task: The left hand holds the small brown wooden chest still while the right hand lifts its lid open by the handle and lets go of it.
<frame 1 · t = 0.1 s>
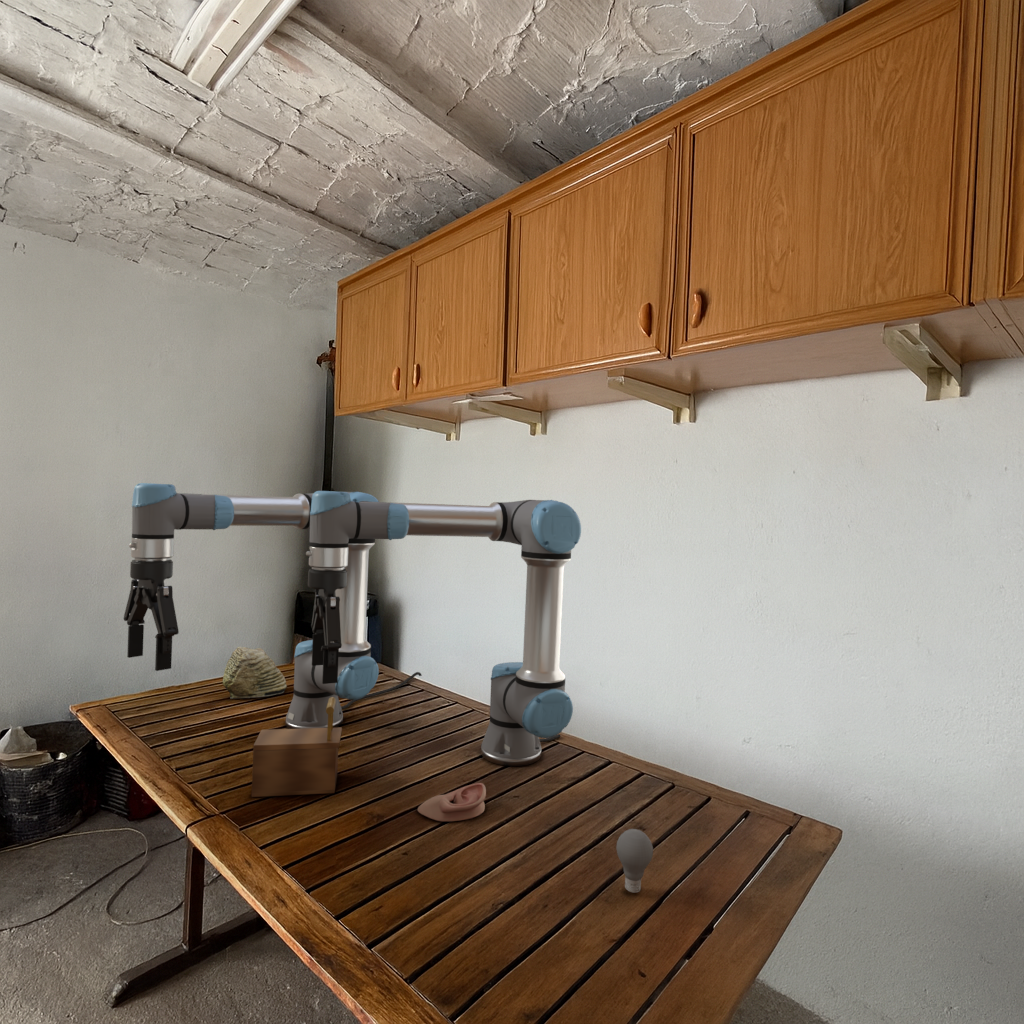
left hand: (148, 662, 129), 28 cm above the table, tool pointing down, fingers open, 13 cm apart
right hand: (323, 673, 127), 28 cm above the table, tool pointing down, fingers open, 13 cm apart
lid: (300, 721, 138), point 14 cm above the table, hinge at 0.0°
fossil: (254, 694, 198), on the table
anatomical model: (452, 809, 131), on the table
chest: (296, 785, 138), on the table
light bulb: (632, 891, 106), on the table
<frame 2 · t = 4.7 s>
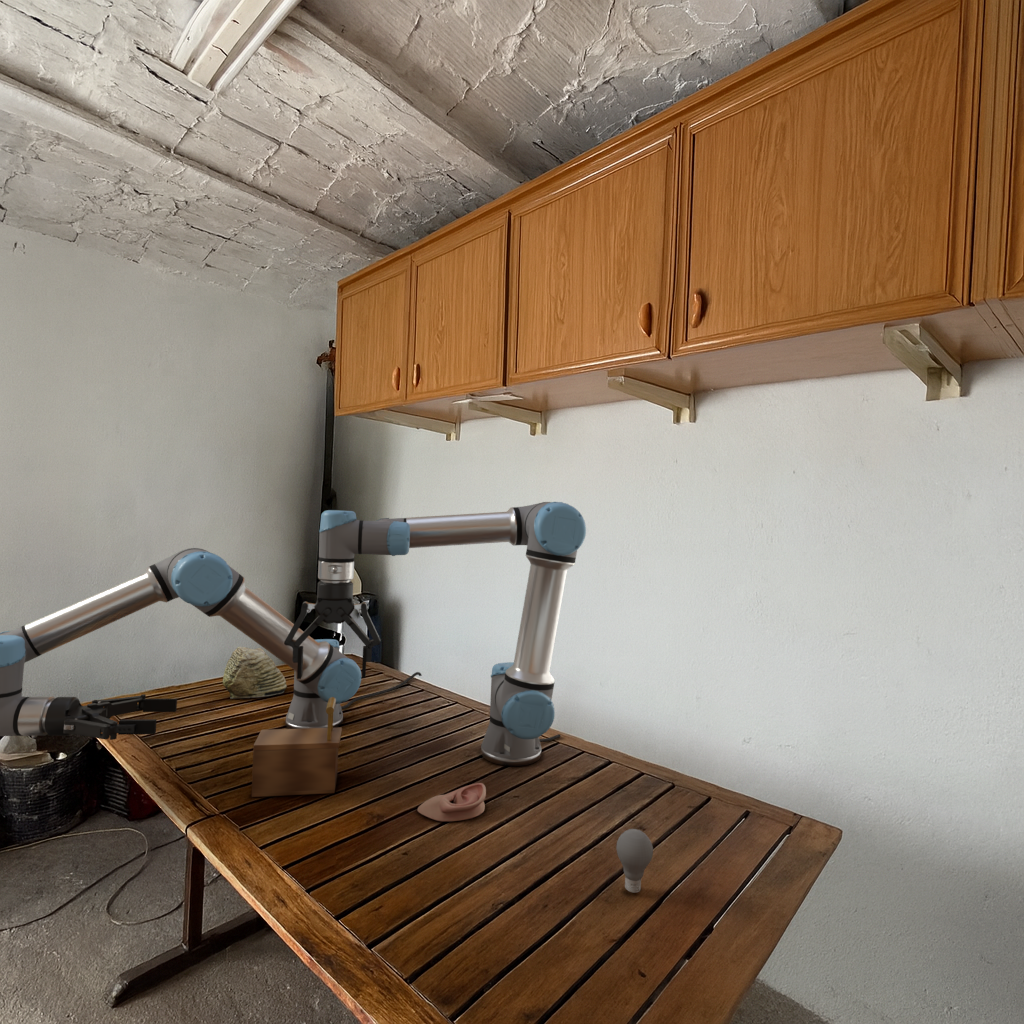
left hand: (166, 715, 133), 16 cm above the table, tool horizontal, fingers open, 13 cm apart
right hand: (332, 677, 139), 24 cm above the table, tool pointing down, fingers open, 13 cm apart
nothing on the table moved.
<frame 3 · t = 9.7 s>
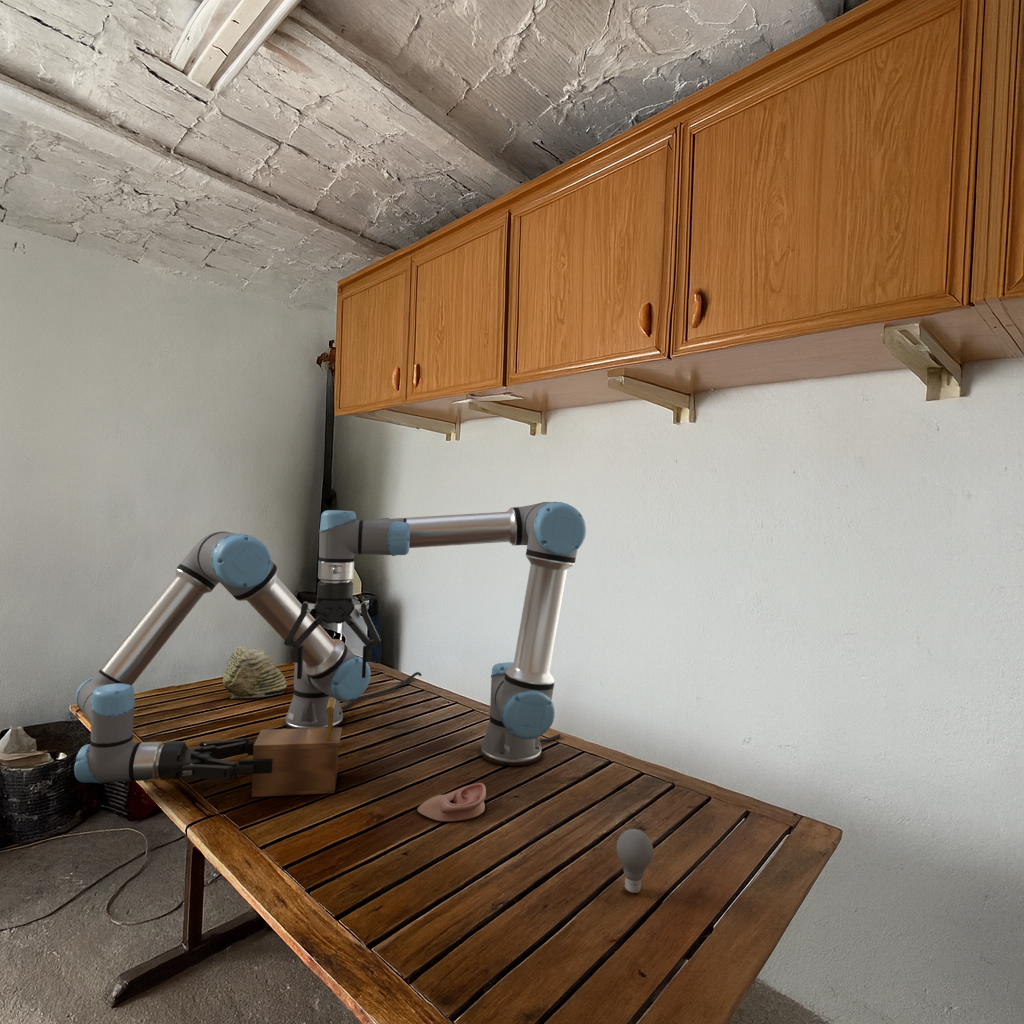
left hand: (275, 756, 137), 7 cm above the table, tool horizontal, fingers closed on chest, 9 cm apart
right hand: (332, 677, 139), 24 cm above the table, tool pointing down, fingers open, 13 cm apart
chest: (296, 785, 138), on the table, touching left hand
everything else where it was.
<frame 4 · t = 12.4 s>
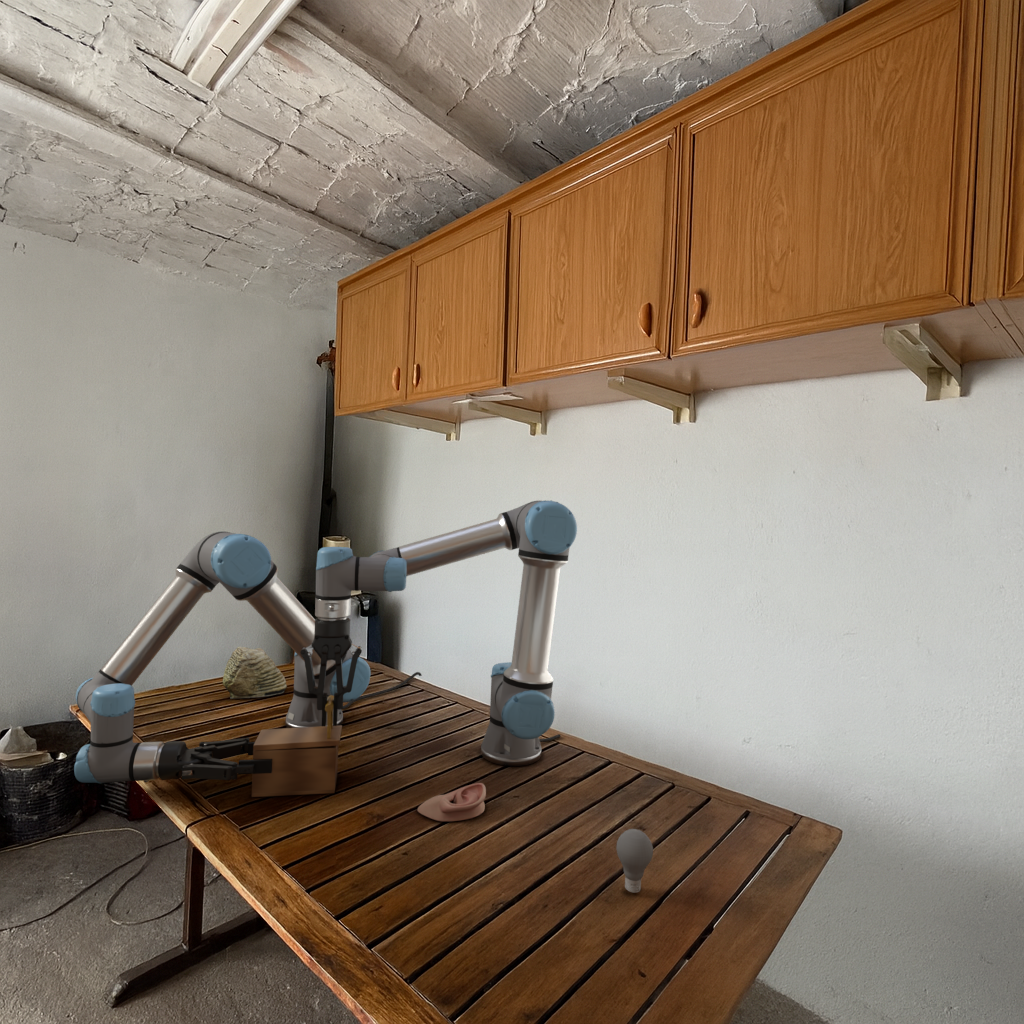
left hand: (275, 756, 137), 7 cm above the table, tool horizontal, fingers closed on chest, 9 cm apart
right hand: (329, 723, 139), 13 cm above the table, tool pointing down, fingers closed on lid, 2 cm apart
lid: (299, 720, 138), point 14 cm above the table, hinge at 1.7°, touching right hand
chest: (296, 785, 138), on the table, touching left hand
everything else where it was.
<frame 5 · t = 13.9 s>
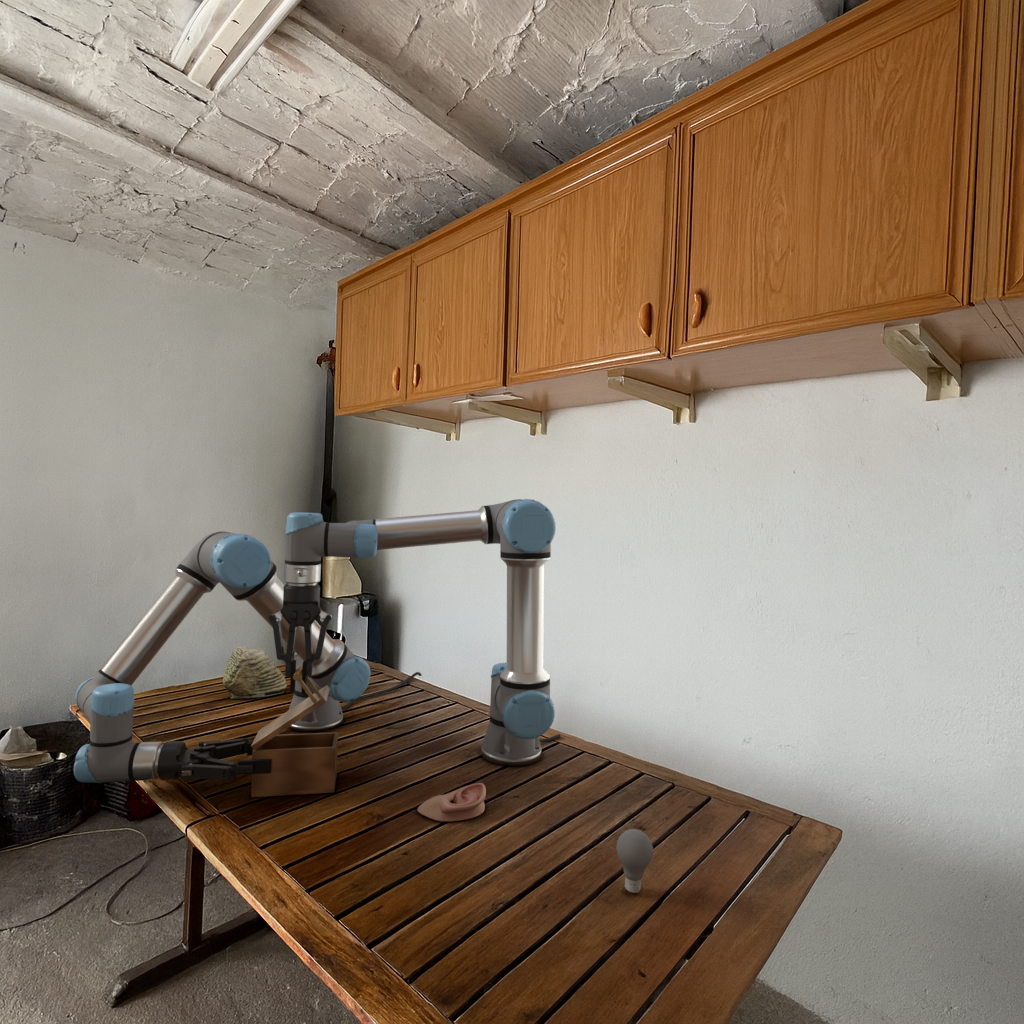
left hand: (274, 756, 137), 7 cm above the table, tool horizontal, fingers closed on chest, 9 cm apart
right hand: (298, 691, 138), 21 cm above the table, tool pointing down, fingers closed on lid, 2 cm apart
lid: (282, 702, 137), point 18 cm above the table, hinge at 34.5°, touching right hand
chest: (295, 785, 138), on the table, touching left hand
everything else where it was.
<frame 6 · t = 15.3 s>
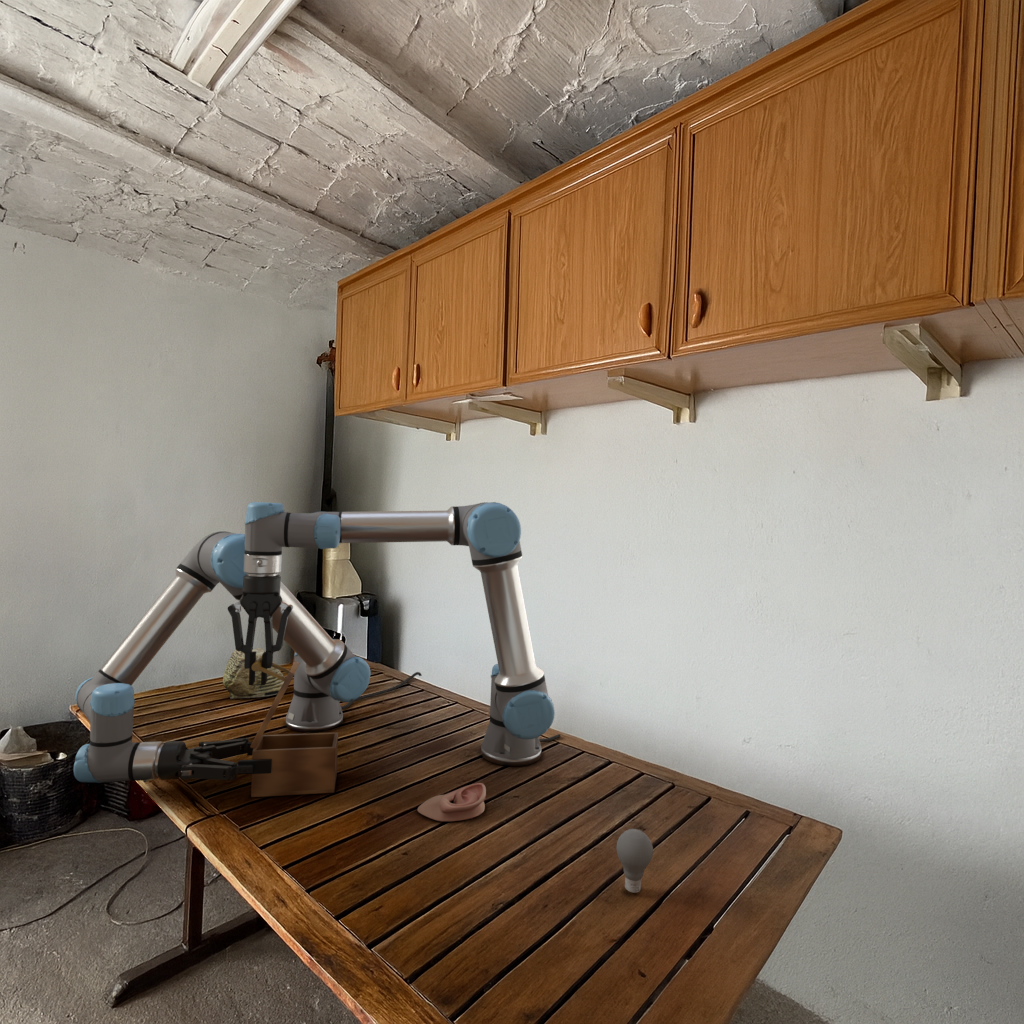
left hand: (274, 756, 137), 7 cm above the table, tool horizontal, fingers closed on chest, 9 cm apart
right hand: (257, 683, 136), 23 cm above the table, tool pointing down, fingers closed
lid: (259, 696, 136), point 20 cm above the table, hinge at 64.8°
chest: (295, 785, 138), on the table, touching left hand
everything else where it was.
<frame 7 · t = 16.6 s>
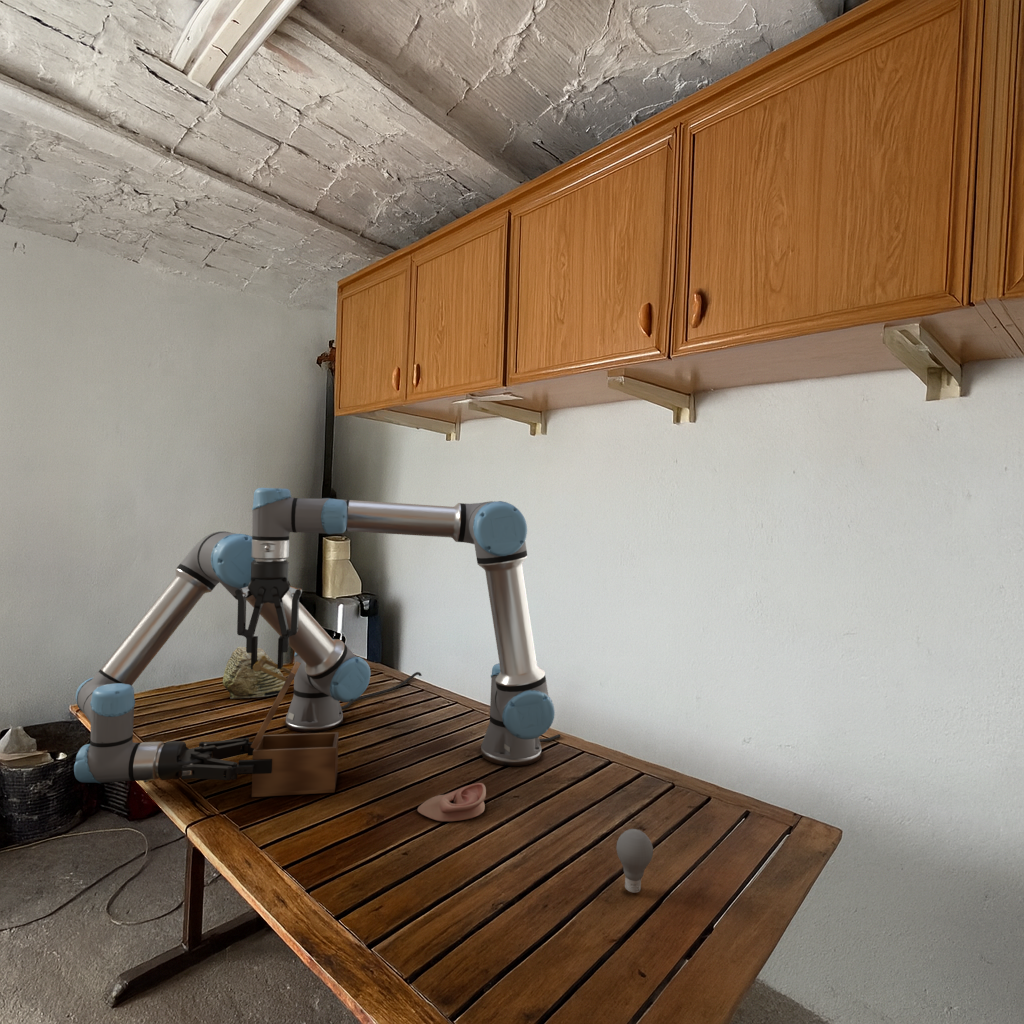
left hand: (275, 756, 137), 7 cm above the table, tool horizontal, fingers closed on chest, 9 cm apart
right hand: (267, 667, 136), 26 cm above the table, tool pointing down, fingers open, 5 cm apart
lid: (260, 696, 136), point 20 cm above the table, hinge at 64.1°, touching right hand
chest: (296, 785, 138), on the table, touching left hand
everything else where it was.
when the left hand's fingers open (7 cm above the table, at t = 19.5 s): chest stays where it is, on the table.
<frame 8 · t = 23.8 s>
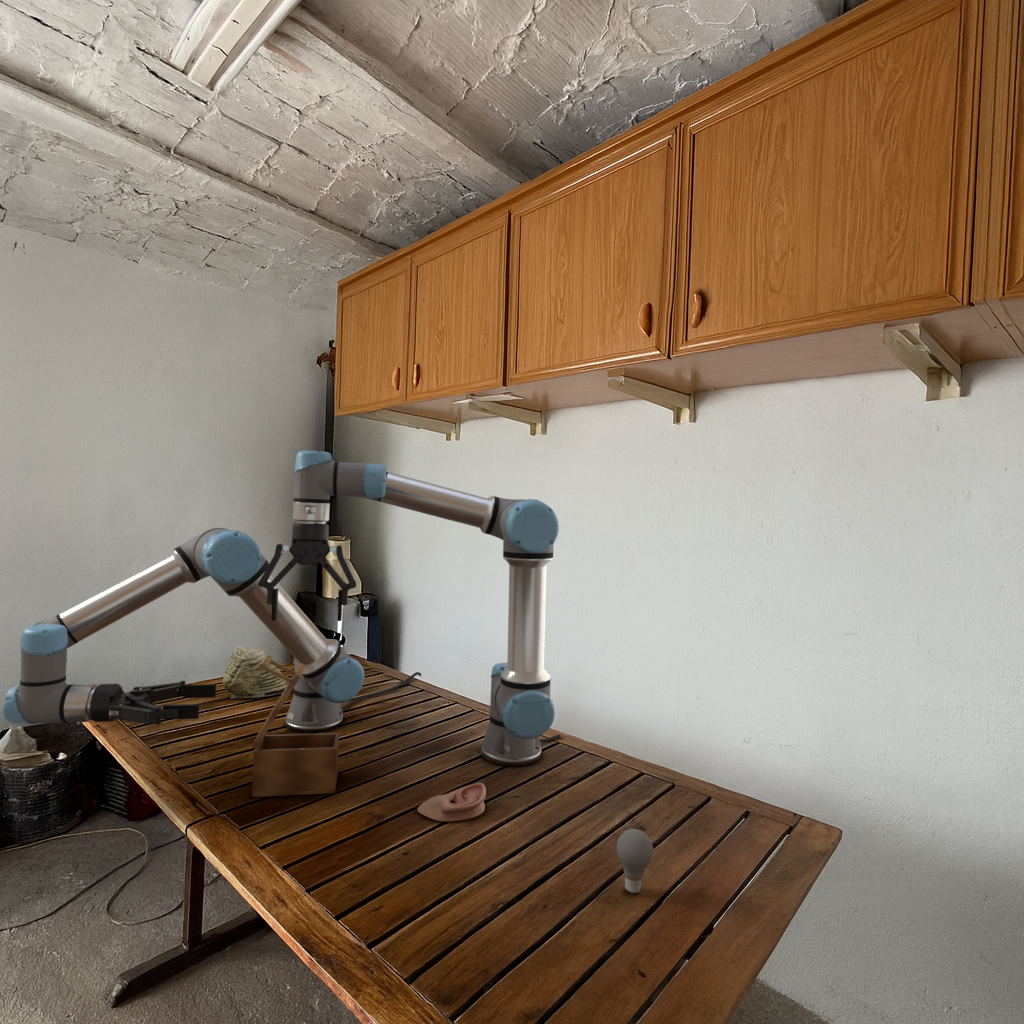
left hand: (207, 700, 134), 19 cm above the table, tool horizontal, fingers open, 13 cm apart
right hand: (307, 619, 138), 36 cm above the table, tool pointing down, fingers open, 13 cm apart
lid: (263, 696, 136), point 20 cm above the table, hinge at 61.5°
chest: (296, 785, 138), on the table
everything else where it was.
at the end: lid at +62° (first picture: +0°); the left hand is holding nothing; the right hand is holding nothing; chest tilted 0°; chest never tilted more than 1° during the clip; chest moved 0.1 cm from its start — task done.
